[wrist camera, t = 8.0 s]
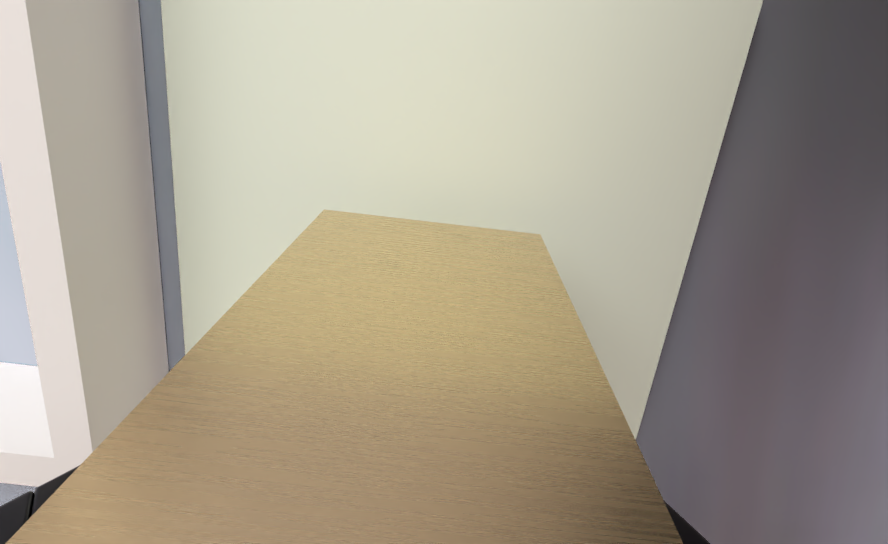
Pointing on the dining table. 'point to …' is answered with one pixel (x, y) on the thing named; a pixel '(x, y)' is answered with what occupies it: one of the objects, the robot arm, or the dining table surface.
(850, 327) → the dining table surface
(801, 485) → the dining table surface
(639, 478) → the block
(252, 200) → the rubber pad
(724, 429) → the dining table surface
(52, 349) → the white square frame
